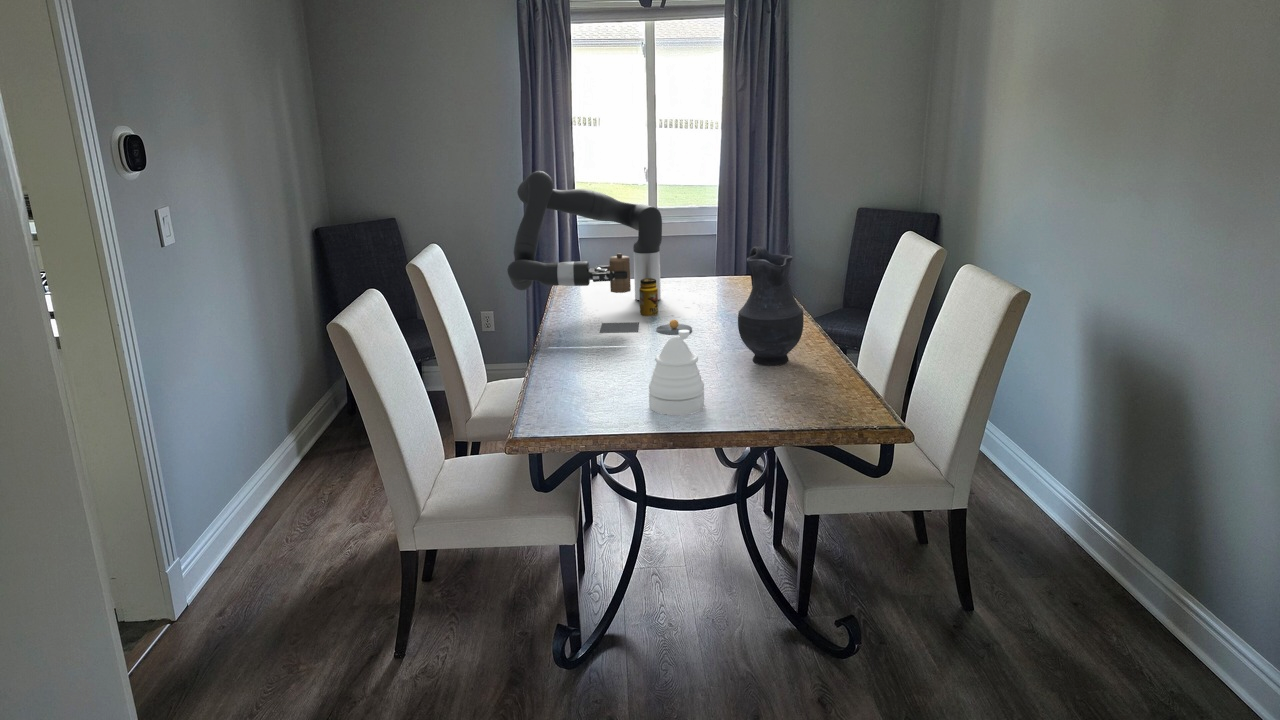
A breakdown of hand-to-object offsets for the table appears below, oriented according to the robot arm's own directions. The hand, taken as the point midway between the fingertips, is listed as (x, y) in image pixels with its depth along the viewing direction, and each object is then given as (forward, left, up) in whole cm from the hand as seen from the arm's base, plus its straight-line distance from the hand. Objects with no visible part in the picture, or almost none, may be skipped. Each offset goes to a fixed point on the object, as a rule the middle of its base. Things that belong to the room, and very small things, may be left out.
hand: (627, 272), depth 259 cm
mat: (0, -3, -18) cm, 18 cm away
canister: (0, -2, -6) cm, 6 cm away
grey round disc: (+4, +14, -18) cm, 23 cm away
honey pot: (+70, +14, -18) cm, 73 cm away
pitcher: (+35, +39, -18) cm, 55 cm away
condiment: (-17, +5, -18) cm, 25 cm away
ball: (+4, +14, -16) cm, 21 cm away
